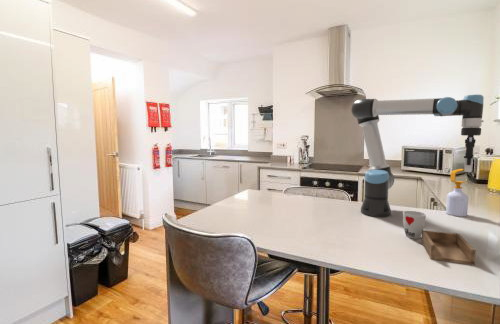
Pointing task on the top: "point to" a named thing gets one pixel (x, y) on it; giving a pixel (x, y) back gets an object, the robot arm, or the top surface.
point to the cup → (413, 223)
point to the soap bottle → (457, 198)
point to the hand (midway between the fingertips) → (467, 170)
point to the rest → (448, 247)
